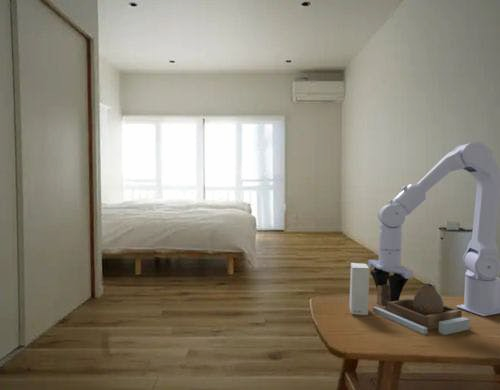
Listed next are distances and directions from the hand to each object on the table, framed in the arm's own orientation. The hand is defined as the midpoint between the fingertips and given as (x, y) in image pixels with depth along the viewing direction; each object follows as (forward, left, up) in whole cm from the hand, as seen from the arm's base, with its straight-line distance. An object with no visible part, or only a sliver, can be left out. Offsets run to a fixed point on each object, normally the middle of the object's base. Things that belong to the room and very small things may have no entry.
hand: (388, 298), depth 110 cm
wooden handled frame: (0, +8, -2) cm, 8 cm away
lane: (+2, +12, -2) cm, 12 cm away
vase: (0, +13, -2) cm, 13 cm away
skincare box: (+11, +1, -2) cm, 11 cm away
